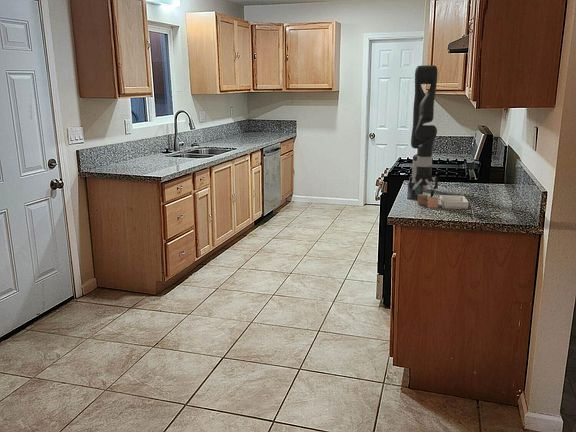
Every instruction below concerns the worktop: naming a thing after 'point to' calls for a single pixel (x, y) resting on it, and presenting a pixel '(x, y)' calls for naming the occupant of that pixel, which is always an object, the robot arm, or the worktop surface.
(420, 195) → the walnut block
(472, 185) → the worktop surface
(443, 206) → the tray
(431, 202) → the terracotta block
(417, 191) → the flask
